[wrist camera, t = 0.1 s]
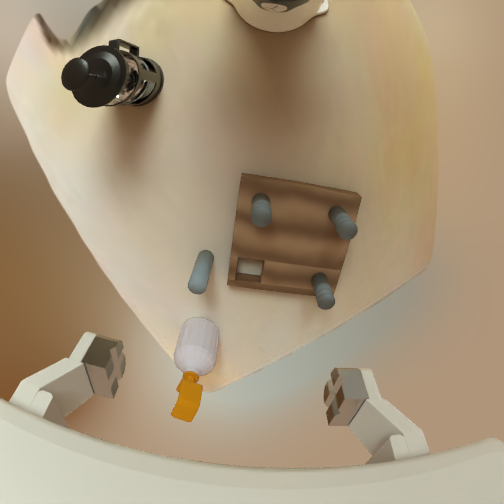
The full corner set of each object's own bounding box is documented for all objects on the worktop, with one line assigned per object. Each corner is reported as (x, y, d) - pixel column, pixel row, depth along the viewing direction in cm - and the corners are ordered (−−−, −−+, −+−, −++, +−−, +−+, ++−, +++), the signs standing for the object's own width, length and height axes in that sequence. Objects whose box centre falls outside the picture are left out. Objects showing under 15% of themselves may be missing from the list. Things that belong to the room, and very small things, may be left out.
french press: (163, 107, 50) (107, 111, 29) (116, 111, 50) (44, 122, 29) (164, 46, 45) (110, 16, 24) (117, 53, 45) (46, 35, 24)
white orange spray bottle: (177, 336, 73) (154, 418, 51) (189, 310, 69) (166, 395, 47) (210, 349, 75) (197, 432, 53) (225, 325, 71) (215, 412, 49)
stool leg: (198, 249, 62) (188, 277, 53) (214, 251, 63) (206, 280, 53) (197, 263, 64) (187, 292, 54) (213, 265, 64) (205, 295, 54)
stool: (242, 173, 55) (238, 188, 46) (356, 192, 57) (376, 211, 47) (228, 277, 65) (223, 308, 55) (329, 289, 66) (340, 321, 56)
